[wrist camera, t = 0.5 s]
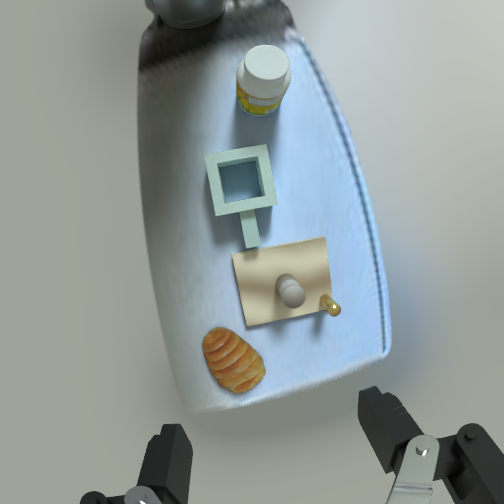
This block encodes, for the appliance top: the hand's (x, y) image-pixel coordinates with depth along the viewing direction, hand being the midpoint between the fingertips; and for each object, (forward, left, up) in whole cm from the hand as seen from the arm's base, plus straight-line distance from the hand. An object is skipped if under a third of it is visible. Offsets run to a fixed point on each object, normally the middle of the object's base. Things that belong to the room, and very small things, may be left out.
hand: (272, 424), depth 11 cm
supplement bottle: (-21, +5, -24) cm, 32 cm away
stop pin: (+4, +9, -23) cm, 25 cm away
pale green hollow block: (-9, +1, -24) cm, 26 cm away
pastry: (+11, -4, -24) cm, 27 cm away
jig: (+1, +4, -24) cm, 24 cm away
